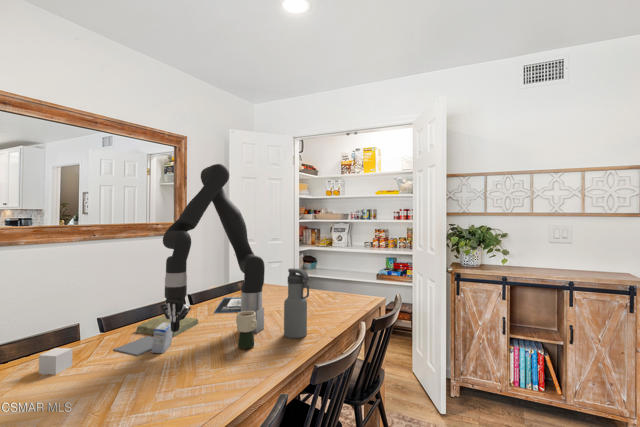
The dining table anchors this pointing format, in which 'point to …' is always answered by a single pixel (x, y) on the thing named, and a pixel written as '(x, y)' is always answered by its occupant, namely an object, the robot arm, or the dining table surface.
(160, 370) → the dining table surface
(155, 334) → the medicine box
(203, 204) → the robot arm
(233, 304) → the sketchbook
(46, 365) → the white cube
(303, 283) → the water bottle
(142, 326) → the folded green cloth
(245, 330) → the character mug
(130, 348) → the mat
